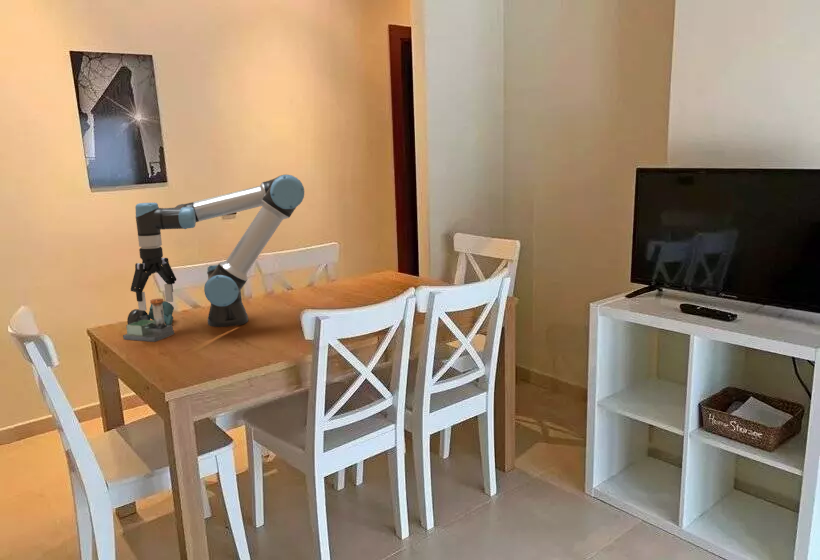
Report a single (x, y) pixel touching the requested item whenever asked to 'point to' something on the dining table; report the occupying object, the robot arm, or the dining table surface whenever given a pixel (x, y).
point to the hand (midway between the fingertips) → (156, 305)
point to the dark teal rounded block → (166, 310)
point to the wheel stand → (137, 316)
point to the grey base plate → (147, 331)
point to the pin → (158, 313)
